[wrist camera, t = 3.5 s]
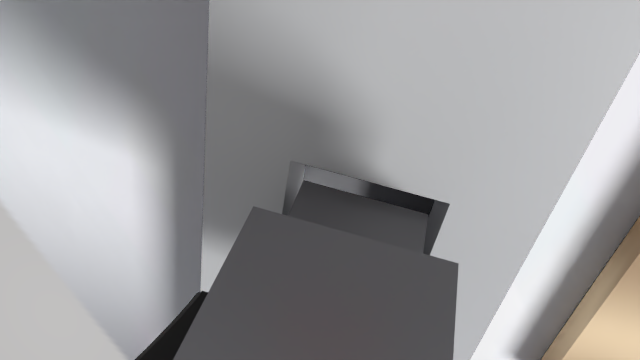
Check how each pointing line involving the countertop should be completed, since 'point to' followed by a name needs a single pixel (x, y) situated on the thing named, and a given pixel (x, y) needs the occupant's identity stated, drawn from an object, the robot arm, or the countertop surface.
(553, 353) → the oak board
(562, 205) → the countertop surface
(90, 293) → the countertop surface
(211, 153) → the power strip
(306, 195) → the block
